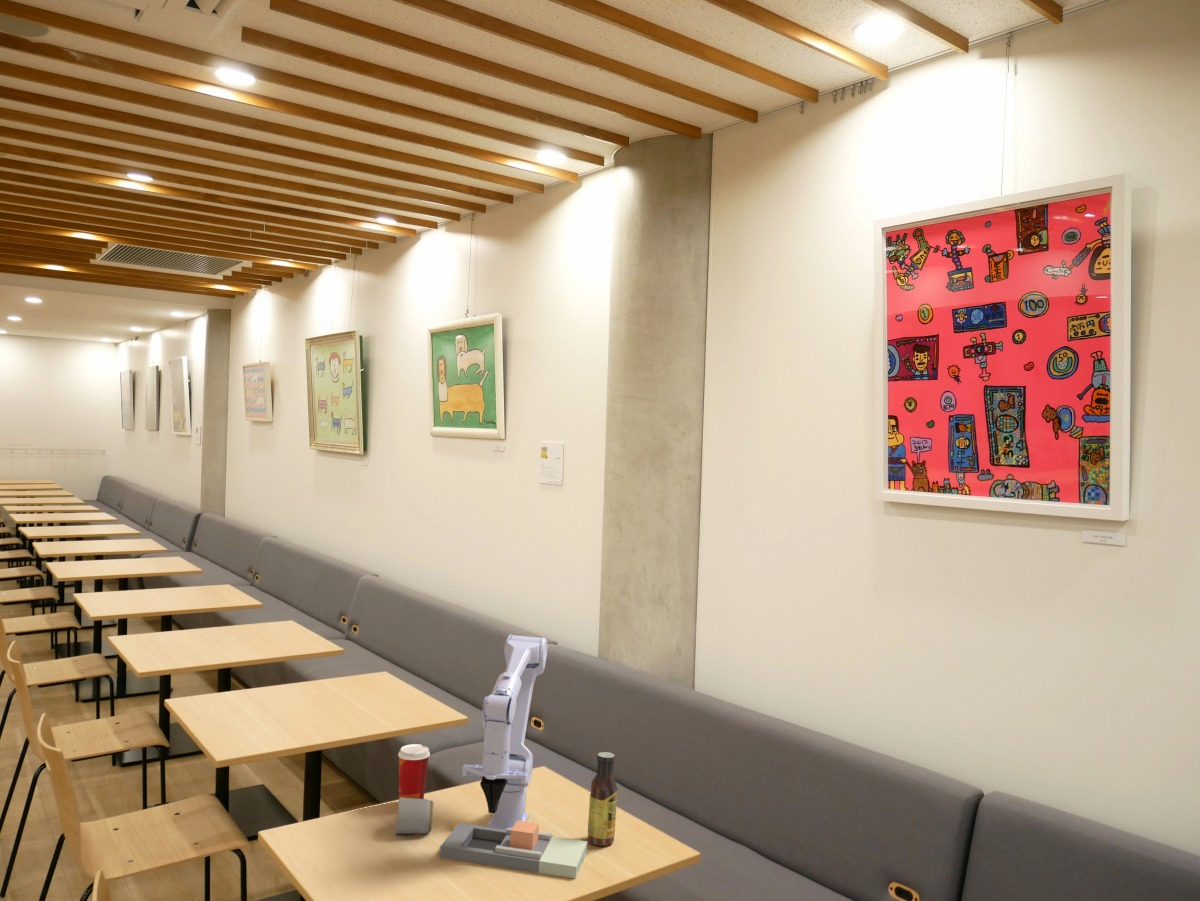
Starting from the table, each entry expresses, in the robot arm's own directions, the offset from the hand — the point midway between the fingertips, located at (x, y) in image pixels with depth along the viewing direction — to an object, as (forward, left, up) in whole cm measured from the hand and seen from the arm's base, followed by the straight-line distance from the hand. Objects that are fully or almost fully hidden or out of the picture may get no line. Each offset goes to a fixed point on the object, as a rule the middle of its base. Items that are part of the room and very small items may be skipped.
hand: (492, 811), depth 191 cm
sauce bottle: (-13, +22, -9) cm, 27 cm away
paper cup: (-17, -26, -9) cm, 32 cm away
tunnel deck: (0, +5, -9) cm, 10 cm away
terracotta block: (0, +7, -6) cm, 10 cm away
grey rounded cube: (-5, -20, -9) cm, 23 cm away
